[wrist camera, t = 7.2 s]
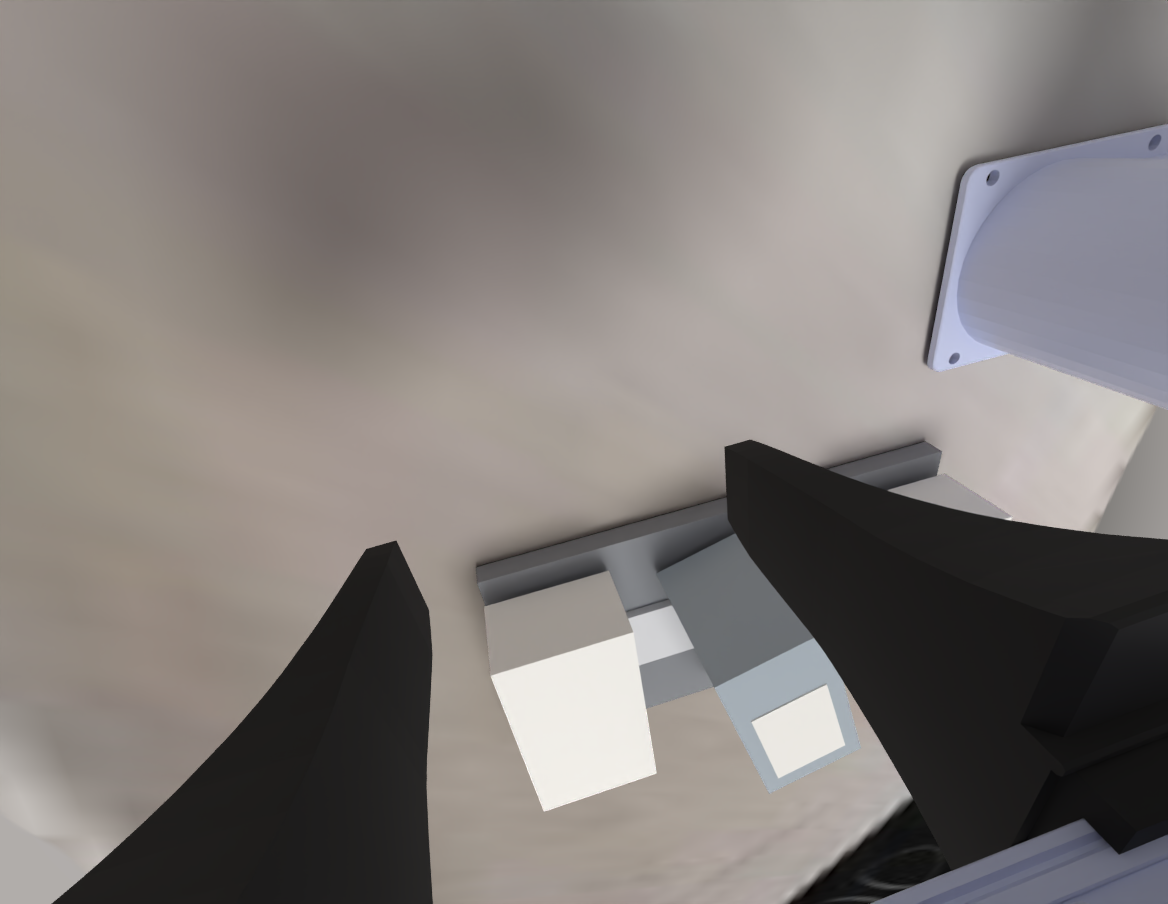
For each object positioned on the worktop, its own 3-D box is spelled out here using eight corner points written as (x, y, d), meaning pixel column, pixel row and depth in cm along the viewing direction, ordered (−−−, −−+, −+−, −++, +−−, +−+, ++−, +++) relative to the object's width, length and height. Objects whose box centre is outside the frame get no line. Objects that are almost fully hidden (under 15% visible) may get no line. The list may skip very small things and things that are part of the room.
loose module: (746, 527, 24) (830, 631, 19) (786, 641, 29) (861, 749, 23) (656, 573, 24) (715, 688, 19) (710, 679, 29) (769, 794, 24)
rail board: (925, 441, 26) (1018, 497, 22) (891, 612, 32) (958, 681, 28) (476, 567, 23) (483, 658, 19) (533, 727, 29) (548, 822, 25)
